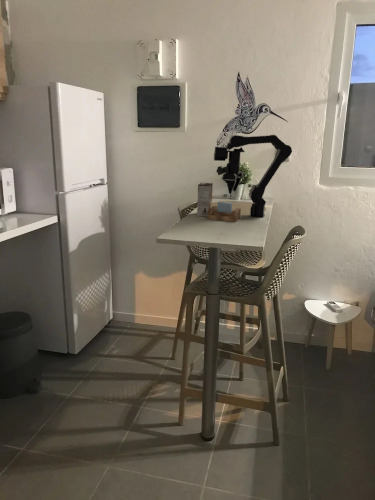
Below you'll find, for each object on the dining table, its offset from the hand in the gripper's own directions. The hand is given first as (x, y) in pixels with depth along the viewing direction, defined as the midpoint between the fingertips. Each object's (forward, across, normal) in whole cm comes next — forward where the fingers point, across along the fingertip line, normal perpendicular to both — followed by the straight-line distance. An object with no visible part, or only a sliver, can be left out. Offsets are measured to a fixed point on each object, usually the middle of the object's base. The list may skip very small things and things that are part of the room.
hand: (232, 192), depth 204 cm
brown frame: (+12, +10, -1) cm, 16 cm away
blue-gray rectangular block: (+10, +10, -1) cm, 14 cm away
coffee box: (+12, +5, -13) cm, 19 cm away
